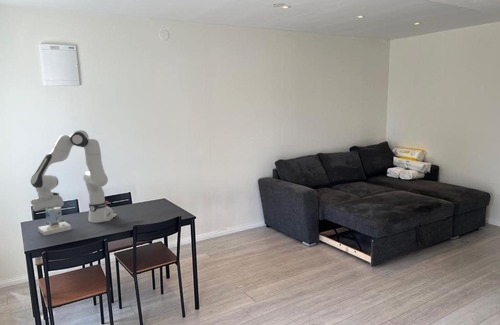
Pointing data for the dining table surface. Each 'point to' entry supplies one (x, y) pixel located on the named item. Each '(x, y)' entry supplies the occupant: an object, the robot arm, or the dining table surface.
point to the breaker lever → (53, 218)
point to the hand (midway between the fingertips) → (51, 212)
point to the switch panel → (54, 228)
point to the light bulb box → (57, 214)
